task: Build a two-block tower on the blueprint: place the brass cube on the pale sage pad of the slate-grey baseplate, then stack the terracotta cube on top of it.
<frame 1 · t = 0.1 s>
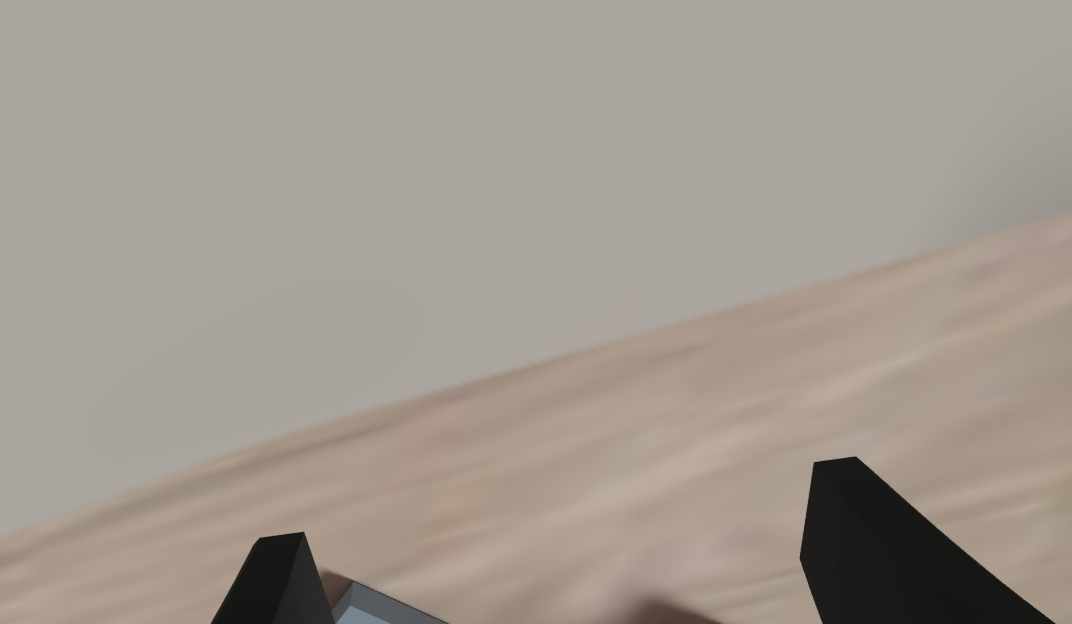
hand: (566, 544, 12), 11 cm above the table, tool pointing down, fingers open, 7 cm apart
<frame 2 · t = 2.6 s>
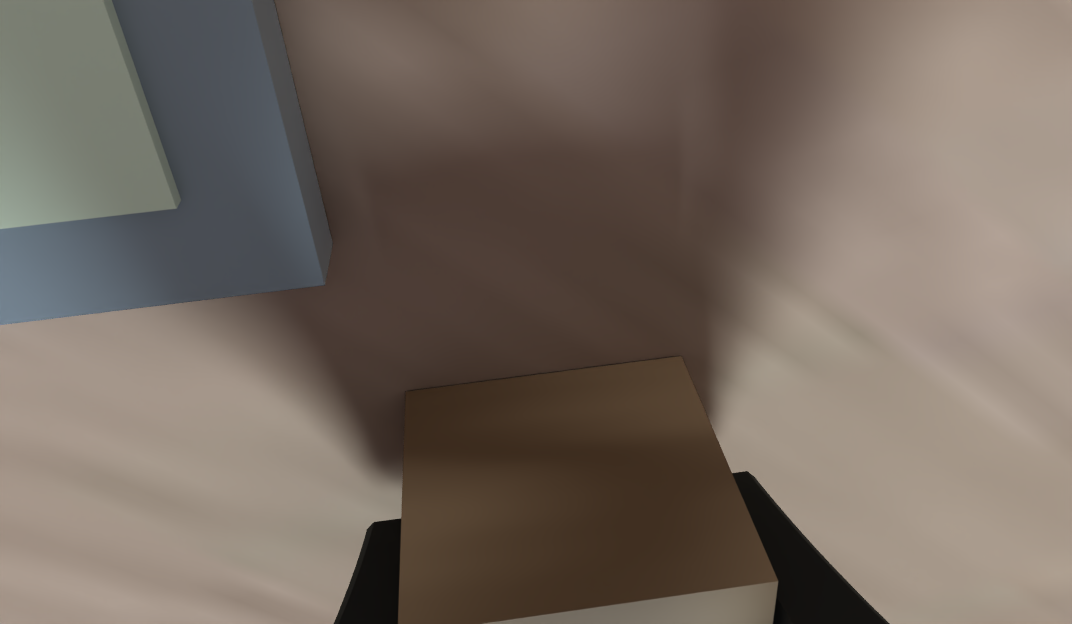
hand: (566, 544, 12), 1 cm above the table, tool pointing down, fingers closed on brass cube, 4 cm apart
brass cube: (553, 473, 13), on the table, touching gripper
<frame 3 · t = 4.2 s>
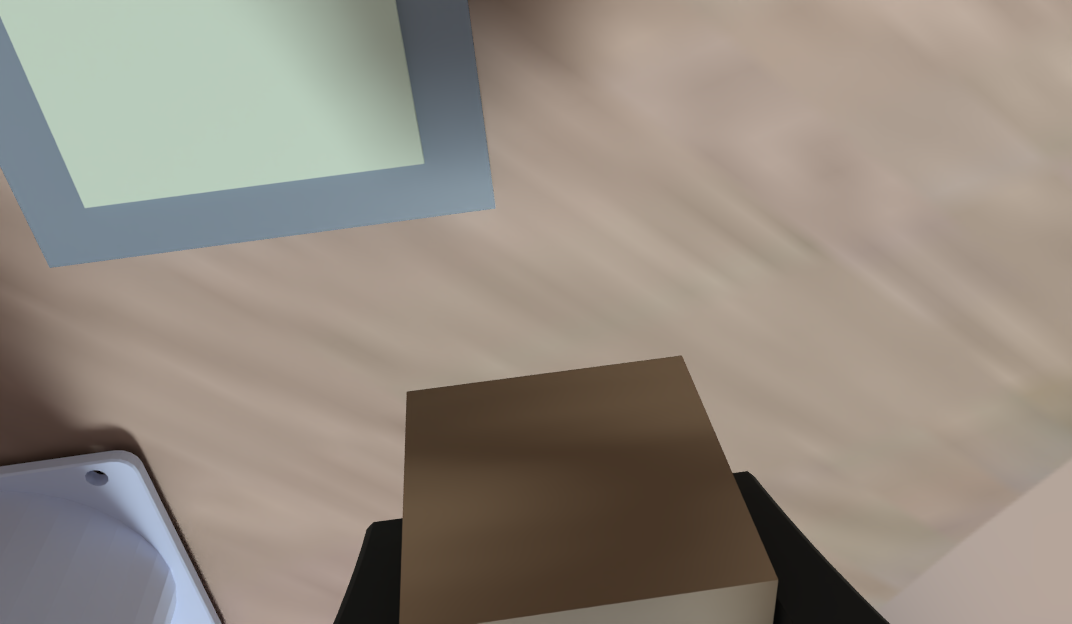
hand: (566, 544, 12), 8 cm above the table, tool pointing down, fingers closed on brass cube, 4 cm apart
brass cube: (554, 473, 13), point 7 cm above the table, touching gripper
when the fingers open (4 cm above the table, at t = 6.0 s): brass cube stays where it is, resting on baseplate.
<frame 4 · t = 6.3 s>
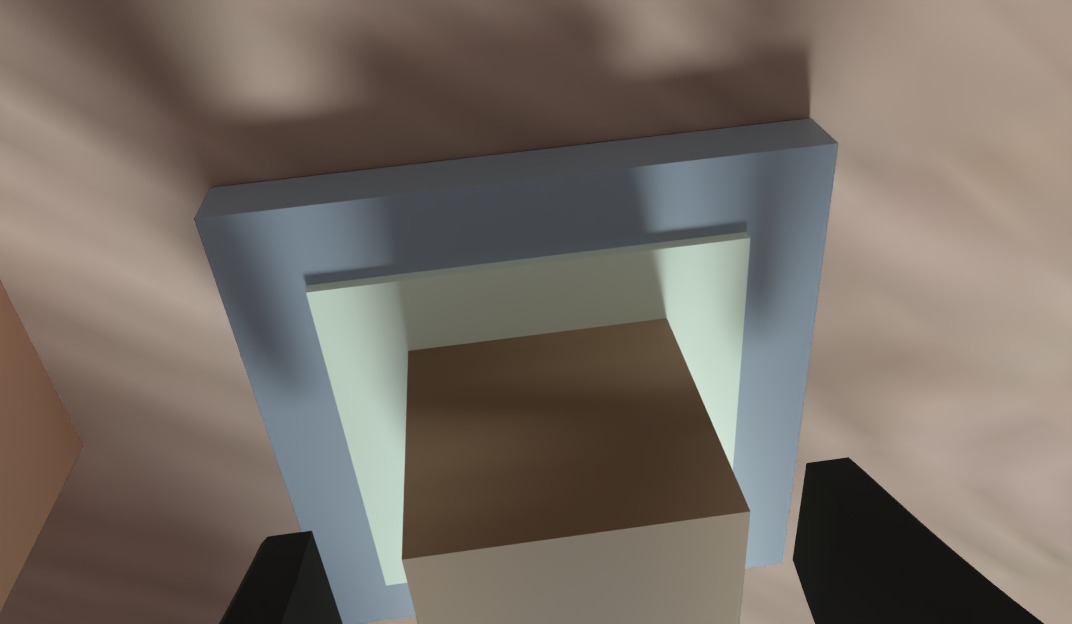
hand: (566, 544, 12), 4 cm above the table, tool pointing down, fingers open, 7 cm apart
baseplate: (538, 387, 15), on the table
brass cube: (547, 431, 14), point 1 cm above the table, touching baseplate
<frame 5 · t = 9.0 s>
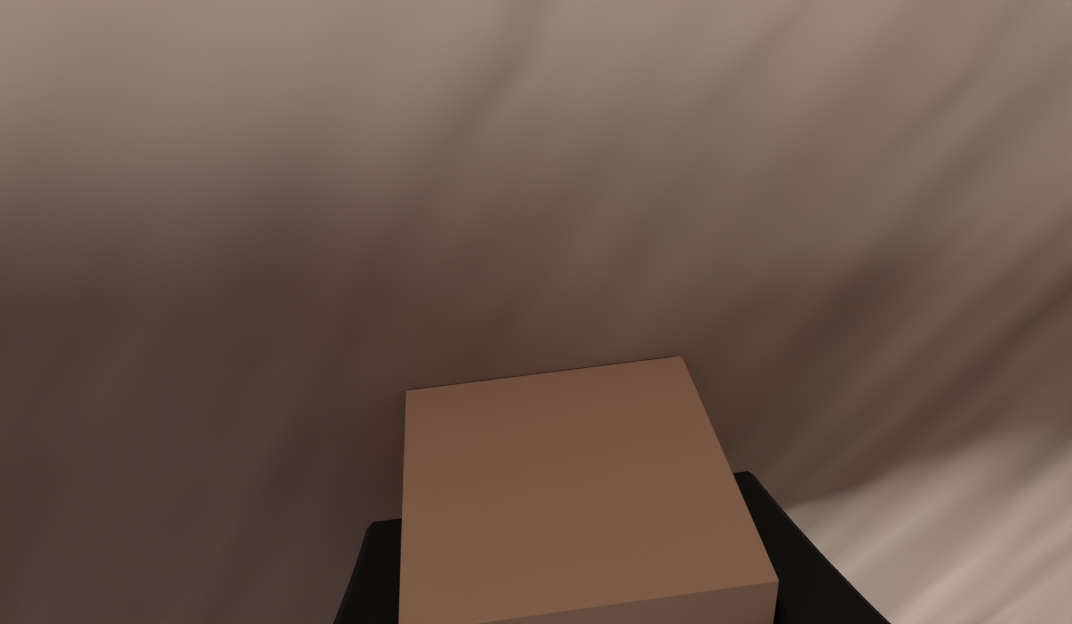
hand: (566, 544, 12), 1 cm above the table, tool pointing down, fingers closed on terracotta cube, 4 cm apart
terracotta cube: (553, 473, 13), on the table, touching gripper
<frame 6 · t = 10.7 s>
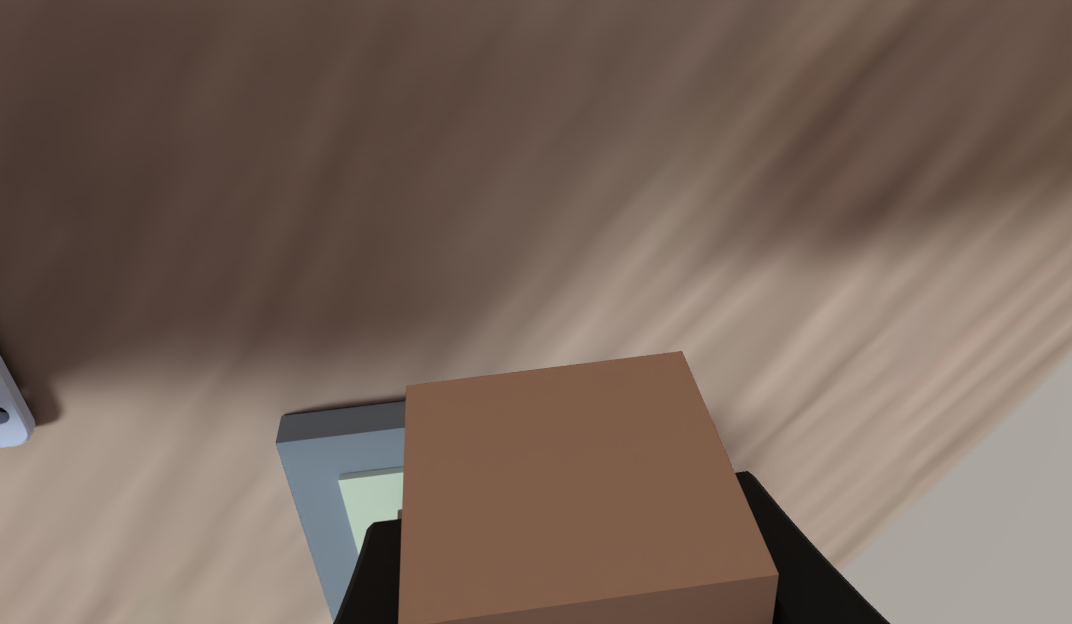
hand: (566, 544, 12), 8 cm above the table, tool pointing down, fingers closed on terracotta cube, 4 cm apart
baseplate: (481, 518, 23), on the table
terracotta cube: (553, 468, 13), point 7 cm above the table, touching gripper
when the fingers open (7 cm above the table, at t = 12.0 s): terracotta cube stays where it is, resting on brass cube.
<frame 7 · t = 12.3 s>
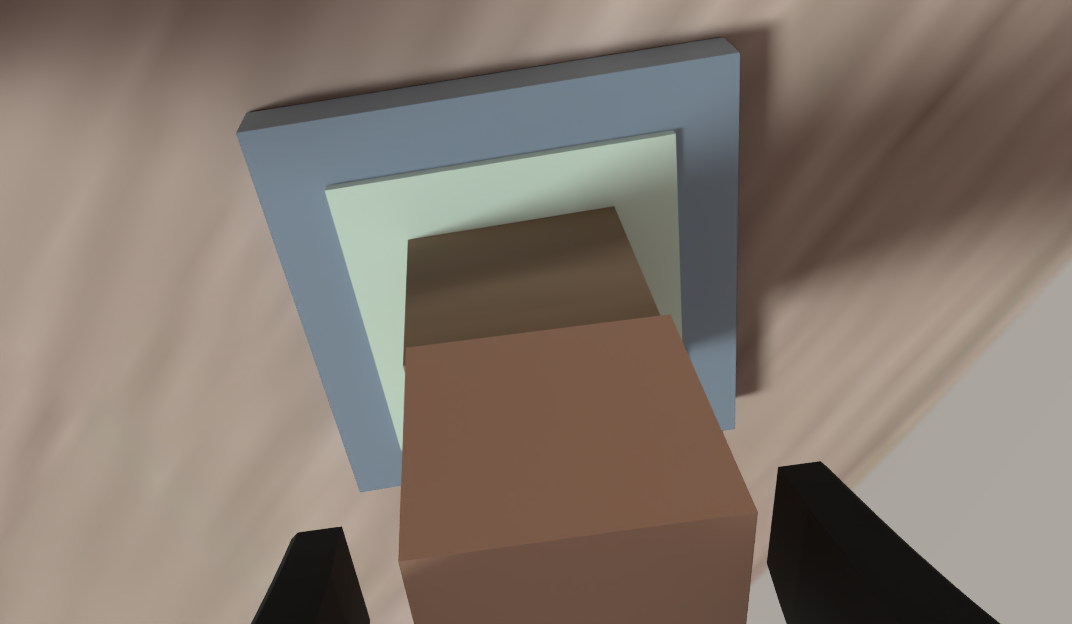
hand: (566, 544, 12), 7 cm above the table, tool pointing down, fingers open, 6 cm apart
baseplate: (518, 278, 18), on the table
brass cube: (524, 308, 17), point 1 cm above the table, touching baseplate, terracotta cube
terracotta cube: (548, 430, 14), point 5 cm above the table, touching brass cube
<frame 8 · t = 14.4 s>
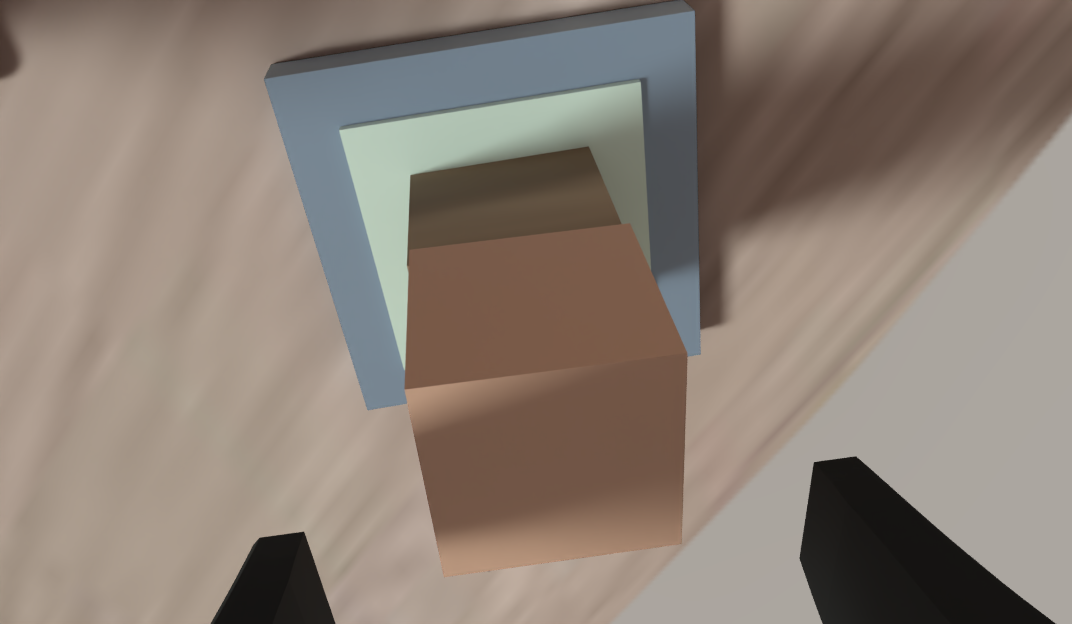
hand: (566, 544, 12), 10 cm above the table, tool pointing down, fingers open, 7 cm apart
baseplate: (507, 215, 21), on the table
brass cube: (512, 239, 20), point 1 cm above the table, touching baseplate, terracotta cube
terracotta cube: (529, 327, 16), point 5 cm above the table, touching brass cube
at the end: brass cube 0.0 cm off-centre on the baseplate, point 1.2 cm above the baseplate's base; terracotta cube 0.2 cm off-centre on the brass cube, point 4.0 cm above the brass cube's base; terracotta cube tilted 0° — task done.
